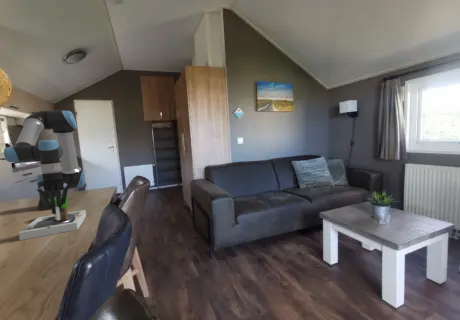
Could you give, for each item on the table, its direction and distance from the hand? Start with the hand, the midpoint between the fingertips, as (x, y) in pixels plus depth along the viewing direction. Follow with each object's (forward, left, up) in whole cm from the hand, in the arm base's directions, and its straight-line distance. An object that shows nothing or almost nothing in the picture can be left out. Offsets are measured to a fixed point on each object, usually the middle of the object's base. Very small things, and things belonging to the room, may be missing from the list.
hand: (57, 219), depth 110 cm
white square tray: (-6, -3, -5) cm, 8 cm away
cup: (-25, -6, -6) cm, 26 cm away
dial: (-6, -3, -3) cm, 7 cm away
